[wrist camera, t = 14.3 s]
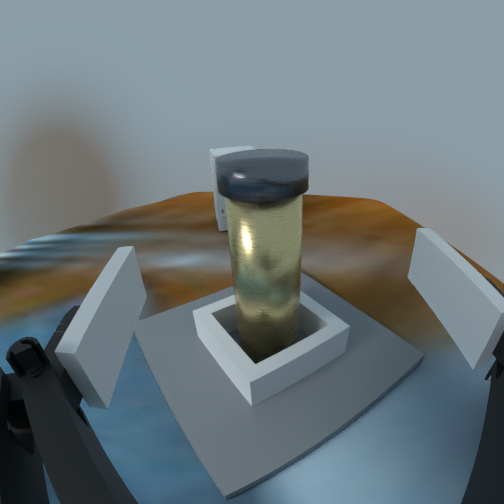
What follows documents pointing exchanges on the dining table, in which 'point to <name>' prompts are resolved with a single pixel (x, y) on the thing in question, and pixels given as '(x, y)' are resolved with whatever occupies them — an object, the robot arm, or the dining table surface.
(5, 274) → the dining table surface
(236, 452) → the socket plate
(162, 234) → the dining table surface
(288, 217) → the lidded glass jar
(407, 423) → the dining table surface
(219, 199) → the supplement box
